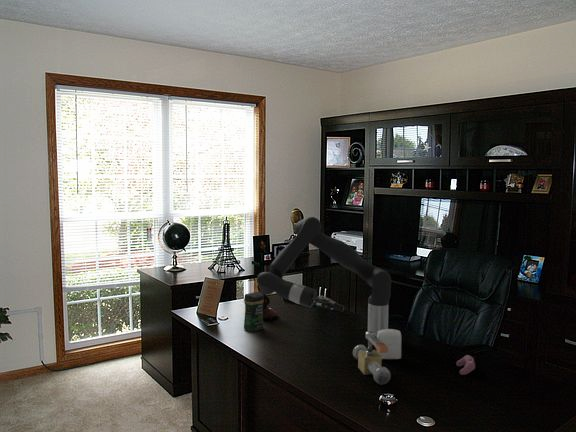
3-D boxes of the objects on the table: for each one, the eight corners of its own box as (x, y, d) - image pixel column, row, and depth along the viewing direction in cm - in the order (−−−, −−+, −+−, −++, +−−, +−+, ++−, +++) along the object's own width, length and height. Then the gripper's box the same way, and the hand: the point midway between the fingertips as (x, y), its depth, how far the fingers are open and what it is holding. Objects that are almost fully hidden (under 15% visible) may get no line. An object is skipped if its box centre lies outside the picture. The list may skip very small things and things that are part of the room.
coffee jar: (252, 333, 232) (252, 295, 230) (241, 329, 237) (241, 293, 236) (266, 328, 239) (266, 292, 237) (255, 325, 245) (255, 289, 243)
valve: (351, 360, 201) (352, 330, 199) (367, 358, 202) (368, 329, 201) (373, 385, 177) (374, 352, 176) (391, 383, 179) (392, 351, 177)
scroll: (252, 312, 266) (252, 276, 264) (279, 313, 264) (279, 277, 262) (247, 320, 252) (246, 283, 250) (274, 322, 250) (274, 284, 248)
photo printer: (377, 359, 201) (378, 331, 200) (375, 355, 205) (376, 327, 204) (402, 360, 201) (402, 331, 200) (399, 356, 205) (400, 327, 204)
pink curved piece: (469, 380, 186) (479, 365, 185) (458, 374, 186) (468, 359, 185) (465, 369, 195) (474, 355, 194) (454, 363, 196) (463, 349, 195)
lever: (364, 337, 191) (364, 331, 190) (373, 336, 191) (373, 330, 191) (379, 353, 174) (379, 346, 174) (388, 352, 175) (388, 346, 175)
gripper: (299, 287, 185) (341, 301, 178) (310, 285, 197) (350, 298, 190) (294, 306, 185) (336, 321, 179) (306, 302, 197) (345, 316, 191)
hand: (343, 309), depth 184 cm, fingers closed
